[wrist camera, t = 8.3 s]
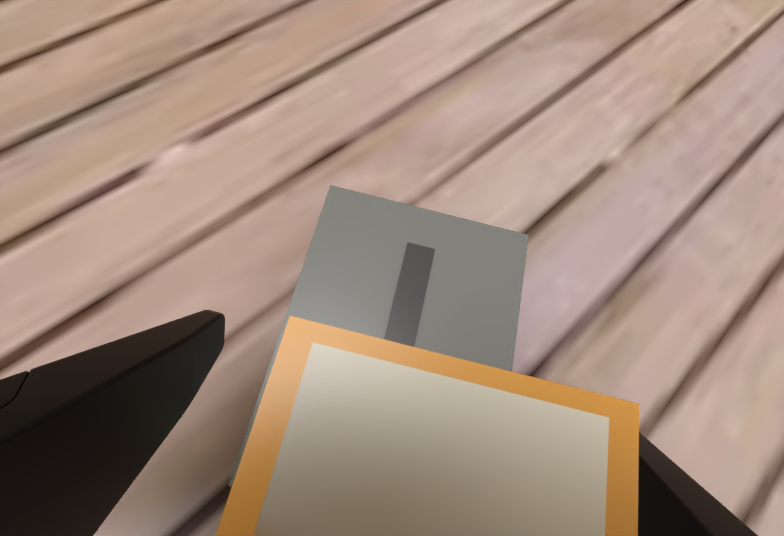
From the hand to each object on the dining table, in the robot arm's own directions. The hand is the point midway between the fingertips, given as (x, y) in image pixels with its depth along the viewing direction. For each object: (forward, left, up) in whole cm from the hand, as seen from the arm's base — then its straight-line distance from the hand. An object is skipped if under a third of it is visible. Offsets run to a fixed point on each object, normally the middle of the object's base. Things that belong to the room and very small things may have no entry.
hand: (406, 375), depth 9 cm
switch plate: (+1, -1, -8) cm, 8 cm away
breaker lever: (-1, +1, -5) cm, 5 cm away
